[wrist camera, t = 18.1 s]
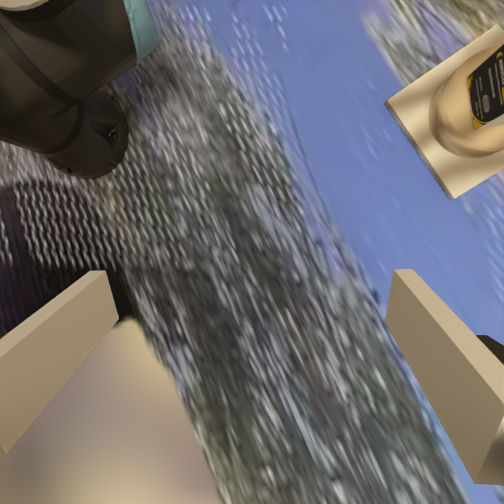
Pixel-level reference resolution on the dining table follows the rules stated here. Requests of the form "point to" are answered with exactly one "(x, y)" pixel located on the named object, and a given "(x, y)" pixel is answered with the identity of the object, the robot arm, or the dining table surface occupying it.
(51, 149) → the robot arm
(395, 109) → the post stand
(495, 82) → the medicine bottle
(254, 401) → the dining table surface
